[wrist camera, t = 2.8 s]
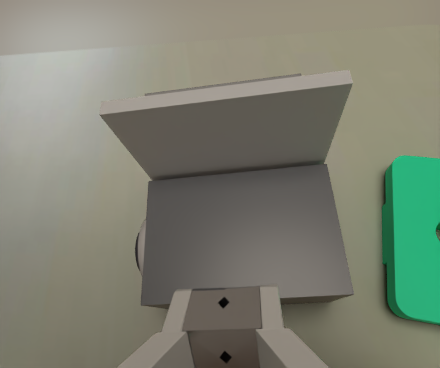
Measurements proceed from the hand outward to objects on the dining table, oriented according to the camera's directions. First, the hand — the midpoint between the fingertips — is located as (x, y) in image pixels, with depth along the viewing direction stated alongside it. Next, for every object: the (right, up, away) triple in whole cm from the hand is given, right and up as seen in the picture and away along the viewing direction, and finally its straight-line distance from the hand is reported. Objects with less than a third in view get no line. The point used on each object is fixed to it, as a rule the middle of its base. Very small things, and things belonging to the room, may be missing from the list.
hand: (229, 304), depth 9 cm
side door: (+2, +3, +17) cm, 18 cm away
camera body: (+2, -2, +16) cm, 16 cm away
